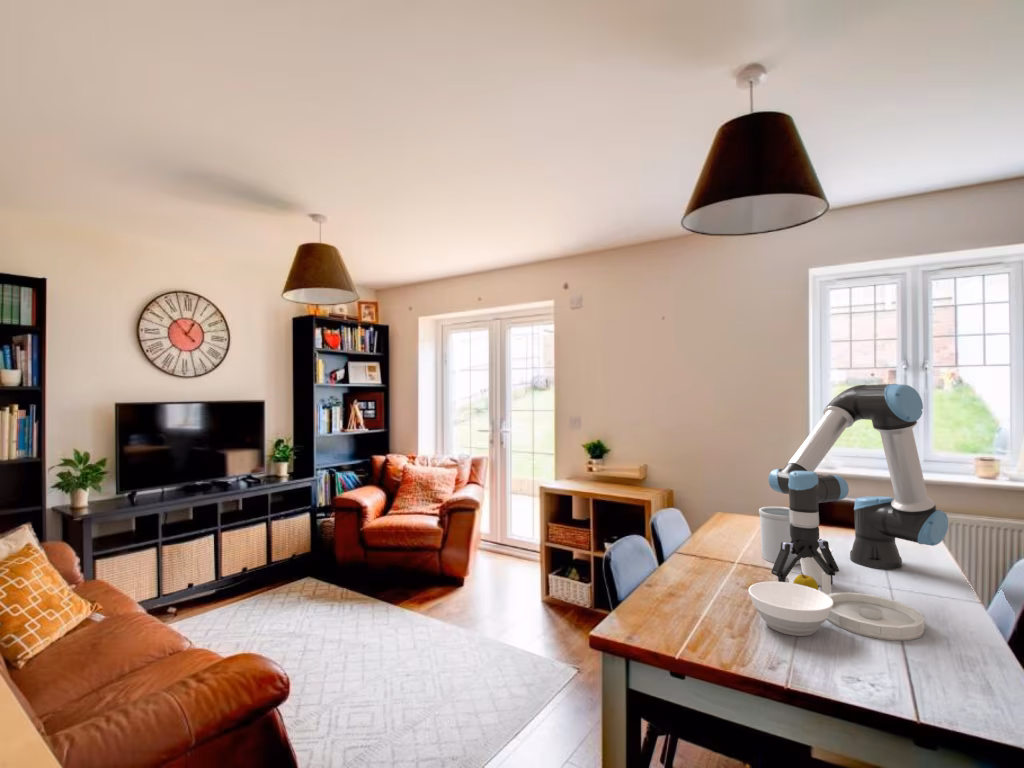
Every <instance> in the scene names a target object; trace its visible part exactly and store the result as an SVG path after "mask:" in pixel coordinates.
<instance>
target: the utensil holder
mask: <svg viewBox="0 0 1024 768" xmlns="http://www.w3.org/2000/svg"><path fill="white" fill-rule="evenodd" d="M758 514H759V523H760V525H759V527H760V530H759V531H760V549H761V550H760V551H761V557H762V558H763V559H764V560H765V561H768V562H770V563H774V564H775V561H776V559H777V556H778V554H779V552H780V548H781V542H785V543H791V537H790V524H792V523H790V515H789V507H787V506H762V507H759V509H758ZM791 550H792V548H791ZM794 555H796V554H794ZM795 565H801V562H800V560H798V561H797V562H796V564H795ZM795 565H794V566H795Z"/></svg>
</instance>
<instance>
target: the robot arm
mask: <svg viewBox="0 0 1024 768" xmlns="http://www.w3.org/2000/svg"><path fill="white" fill-rule="evenodd" d="M923 406H924V404H923V399H922V398H921V395H920V393H919V392H918V391H917V390H916V389H915V388H914V387H912V386H910V385H909V384H898V383H886V384H885V383H883V384H882V383H881V384H858V385H854V386H852V387H849V388H847V389H845V390H843V391H841V393H839V394H837V395H836V396H835V397H834V398H833V399H832V400H831V401H830V402H829V403H828V404H827V405H826V406H825V407H824V409H823V412H822V414H823V416H822V417H821V418H820V420H819V421H818V423H817V424H816V425H815V426H814V428H813V429H812V431H811V432H810V433H809V434H808V436H807V437H806V439H804V441H803V442H802V444H801V445H800V446H799V448H798V449H797V451H795V453H794V454H793V455H792V457H791V458H790V459H789V461H788V462H787V463H786V464H785V466H784V468H775V469H773V470H771V472H770V473H769V474H768V483H769V487H770V488H771V489H772V490H773V491H775V492H777V493H782V494H786V495H788V499H789V500H788V501H789V505H788V506H789V507H788V508H789V515H790V523H792V524H790V537H791V543H785V542H781V548H780V552H779V554H778V556H777V559H776V561H775V563H774V564H773V567H772V569H771V574H772V575H774V576H776V577H777V580H778V581H777V582H787V583H790V579H789V578H788V575H789V574H790V572H791V571H792V570H793V568H794V567H795V564H796V562H797V561H798V560H800V559H801V558H806V557H809V558H812V557H813V558H814V559H815V561H816V562H817V563H818V564H819V566H820V567H821V568H822V569H823V570H824V572H825V573H824V572H821V574H822V586H821V592H823V593H825V594H827V595H828V594H831V593H832V586H833V583H834V582H833V576H836V574H837V573H838V572H840V569H839V566H838V564H837V561H836V560H835V558H834V556H833V553H832V552H830V549H831V548H830V545H829V542H828V540H825V539H821V538H820V527H819V526H820V515H819V513H820V512H819V504H821V503H828V502H837V501H840V500H844V499H846V498H847V496H848V494H849V490H850V489H849V485H848V482H847V481H846V479H845V478H844V477H842V476H840V475H838V474H837V475H836V474H833V475H832V474H827V475H823V474H821V475H820V474H818V473H816V472H815V470H816V469H817V467H819V465H820V464H821V463H822V461H823V460H824V458H825V457H826V456H827V454H828V453H829V452H830V451H831V449H832V448H833V446H834V445H835V443H836V442H837V440H838V439H839V438H840V437H841V435H842V434H843V433H844V431H845V429H847V428H851V427H853V425H854V423H855V422H857V421H860V420H867V421H869V420H870V421H871V422H872V423H871V424H872V428H873V429H874V430H875V431H878V432H879V433H880V436H881V442H882V446H883V447H882V448H883V450H884V456H885V460H886V463H887V467H888V468H887V469H888V473H889V477H890V481H891V485H892V490H893V494H894V497H892V496H887V495H886V496H882V495H878V496H877V495H876V496H875V495H873V496H872V495H871V496H869V495H868V496H860V497H857V498H856V499H855V500H854V507H853V511H854V541H853V543H852V548H851V550H850V552H849V559H850V561H852V562H853V563H855V564H858V565H860V566H864V567H869V568H874V569H881V570H882V569H883V570H896V569H901V568H902V567H903V559H902V556H901V555H900V552H899V549H898V546H897V544H896V543H897V542H896V539H899V540H900V539H901V540H902V541H903V540H905V541H908V542H913V543H917V544H919V545H926V546H937V545H939V544H941V542H942V541H943V540H944V539H945V537H946V536H947V532H948V530H949V529H948V528H949V517H948V515H947V514H946V513H945V512H944V511H942V510H941V509H937V506H936V503H935V501H934V499H932V498H931V497H929V496H928V493H927V487H926V483H925V479H924V475H923V469H922V466H921V461H920V456H919V453H918V451H919V450H918V447H917V443H916V438H915V434H914V430H913V428H914V427H915V426H917V424H918V422H917V421H918V420H920V418H921V417H922V415H923V408H924V407H923ZM818 547H820V550H821V552H822V554H823V556H824V558H825V560H826V562H825V561H824V559H823V558H822V557H821V555H820V553H819V552H818V551H817V549H818ZM791 548H792V550H791ZM829 548H830V549H829ZM794 554H796V555H794Z"/></svg>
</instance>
